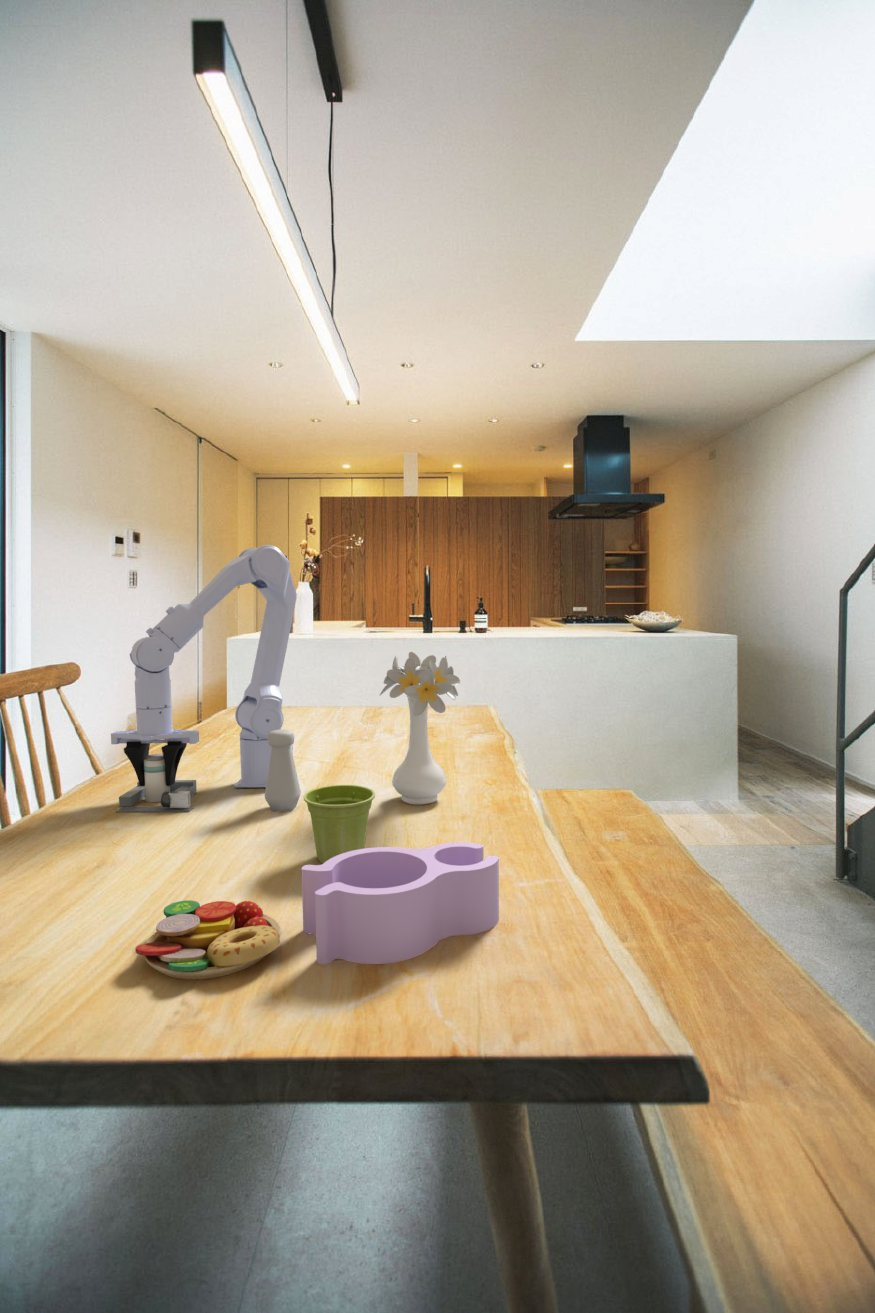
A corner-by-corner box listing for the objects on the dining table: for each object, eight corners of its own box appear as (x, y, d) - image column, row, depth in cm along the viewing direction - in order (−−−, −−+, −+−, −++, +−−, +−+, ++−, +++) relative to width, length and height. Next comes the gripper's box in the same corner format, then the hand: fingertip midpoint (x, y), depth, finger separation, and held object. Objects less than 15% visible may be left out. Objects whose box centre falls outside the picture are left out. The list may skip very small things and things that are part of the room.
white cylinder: (174, 795, 122) (172, 752, 121) (165, 802, 118) (163, 758, 117) (151, 795, 122) (149, 753, 121) (141, 802, 118) (139, 758, 117)
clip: (467, 890, 82) (466, 833, 81) (518, 937, 70) (517, 871, 70) (297, 921, 74) (296, 858, 74) (323, 979, 63) (322, 905, 62)
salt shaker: (305, 803, 117) (303, 727, 116) (295, 814, 111) (293, 734, 110) (271, 802, 117) (269, 727, 116) (259, 813, 112) (257, 733, 110)
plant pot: (387, 849, 95) (386, 787, 94) (357, 875, 86) (356, 807, 85) (326, 842, 98) (325, 782, 97) (291, 866, 89) (289, 800, 88)
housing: (213, 791, 124) (212, 779, 124) (188, 811, 113) (188, 798, 112) (141, 792, 124) (140, 780, 124) (109, 812, 113) (109, 799, 113)
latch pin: (192, 804, 115) (191, 790, 115) (186, 808, 113) (186, 794, 112) (167, 804, 115) (166, 790, 115) (161, 808, 113) (160, 794, 112)
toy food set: (280, 979, 63) (279, 945, 63) (125, 998, 60) (123, 962, 60) (281, 915, 76) (280, 886, 76) (154, 928, 73) (152, 898, 73)
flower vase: (404, 821, 107) (402, 660, 105) (371, 791, 124) (368, 652, 122) (480, 811, 112) (480, 656, 109) (438, 783, 129) (437, 649, 127)
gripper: (100, 710, 115) (104, 790, 116) (187, 710, 115) (190, 790, 116) (120, 704, 122) (124, 780, 123) (202, 703, 122) (205, 779, 123)
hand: (157, 784), depth 120 cm, fingers closed on white cylinder, 4 cm apart
